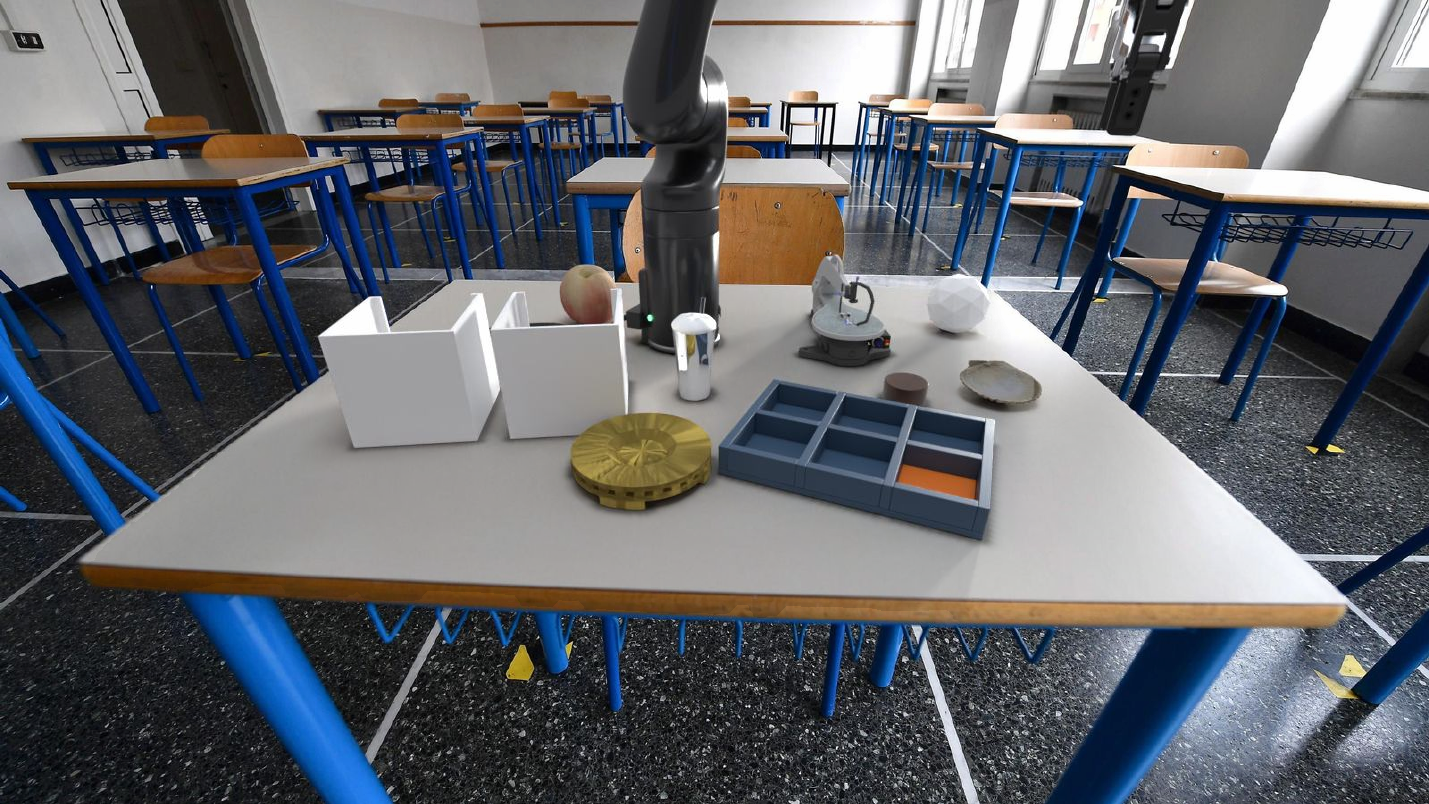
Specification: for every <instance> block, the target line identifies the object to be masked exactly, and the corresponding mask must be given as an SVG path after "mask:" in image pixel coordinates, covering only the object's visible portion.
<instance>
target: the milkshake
mask: <svg viewBox="0 0 1429 804" xmlns="http://www.w3.org/2000/svg"><path fill="white" fill-rule="evenodd" d="M705 300H706V298H705V297H702V298H701V305H700V313H685V314H680V315H679V316H678V317H676V318H675V319H674V320H673V321H672V323H671V327H672V333H673V340H674V348H675V353H674V355H675V365H676V375H677V381H678V382H677V384H678V392H679V395H680V397H681V399H683V400H686V401H689V402H699V401H703V400H706V399H707V398H708V397H709V396H710V394H711V385H712V371H713V361H714V360H713V359H714V348H715V346H714V338H715V329H716V322H715V321H714V319H713V318H712V317H710V316H709V315H707V314H704V308H705Z"/></svg>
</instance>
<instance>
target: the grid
mask: <svg viewBox="0 0 1429 804" xmlns="http://www.w3.org/2000/svg"><path fill="white" fill-rule="evenodd" d="M995 425H996V419H992V418H987V417H980V416H975V415H970V414H966V413H965V414H964V413H958V412H953V411H948V410H942V409H938V408H937V409H936V408H931V407H925V406H924V407H921V406H918V407H917V406H916V405H910V404H905V403H900V402H894V401H889V400H883V399H882V398H877V397H872V396H868V395H867V396H866V395H861V394H856V393H850V392H846V391H840V390H839V391H838V390H835V389H829V388H824V387H817V386H813V385H807V384H801V383H795V382H790V381H786V380H785V381H784V380H780V379H773V380H772V381H771V382H770V383H769V385H768V386H767V387H766V388H765V389H764V391H762V393H761V394H760V395H759V396H758V398H756V400H755V401H754V403H753V404H752V405H751V406H750V407H749V409H747V411H746V412H745V414H743V416H742V417H741V418H740V420H739V421H738V422H737V423H736V424H735V425H734V427H732V429H731V430H730V432H729V433H728V434H727V435H726V436H725V438H723V440H722V441H721V442H720V443H719V445H718V449H717V450H718V451H717V453H718V461H717V463H718V466H717V469H718V471H717V473H718V474H719V475H722V476H727V477H732V478H735V479H738V480H742V481H746V482H751V483H755V484H759V485H763V486H767V487H769V488H770V487H771V488H775V489H778V490H783V491H787V492H791V493H795V494H799V495H803V496H806V497H810V498H813V499H818V500H822V501H826V502H830V503H833V504H838V505H842V506H846V507H850V508H854V509H857V510H861V511H866V512H870V513H873V514H878V515H881V516H884V517H885V516H886V517H890V518H893V519H898V520H900V521H901V520H902V521H906V522H909V523H913V524H917V525H920V526H921V525H922V526H925V527H928V528H933V529H936V530H941V531H945V532H949V533H953V534H957V535H961V536H965V537H969V538H973V539H977V540H980V541H982V540H983V538H984V535H985V534H984V533H985V530H986V526H987V523H988V518H989V515H990V511H991V499H992V498H991V497H992V480H993V479H992V478H993V461H994V444H995V442H994V441H995Z"/></svg>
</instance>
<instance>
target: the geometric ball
mask: <svg viewBox="0 0 1429 804" xmlns="http://www.w3.org/2000/svg"><path fill="white" fill-rule="evenodd" d="M990 304H991V302H990V297H989V293H988V290H987V287H986V286H984V284H982V283H981V282H979V280H978V279H976V278H975V277H972V276H968V275H965V274H961V273H956V274H953V275H949V276H945V277H943V278H942V279H941V280H939V281H938V282H937V283H936V284H935V285H934V286H933V287H932V288H931V289H930V291H929V296H928V298H927V303H926V308H927V312H928V316H929V320H930V321H931V322H932V323H933V324H935V325H936V326H937V327H938V328H939V329H940V330H942V331H946V332H950V333H953V334H956V335H957V334H960V333H964V332H966V331H971V330H973V329H974V328H975V327H976V326H978V325H979V324H980V323H981V322H982V321H984V320H985V319H986V316H987V313H988V310H989V308H990V307H989V306H990Z"/></svg>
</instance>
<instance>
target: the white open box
mask: <svg viewBox="0 0 1429 804" xmlns="http://www.w3.org/2000/svg"><path fill="white" fill-rule="evenodd" d="M470 300H471V302H470V304H469V305H468V306H467V308H466V309H465V310H464V311H463V313H462V314H461V315H460V317H459V318H458V319H457V321H456V322H455V323H454V324H453V326H452V327H451V328H450V329H440V330H413V331H412V330H411V331H391V328H390V324H389V321H388V317H387V313H386V309H385V306H384V302H383V298H382V296H368V297H367V298H366V299H365V300H363V301H362V302H361V303H359V304H357V306H355V307H354V308H353V309H351V310H350V311H349V312H348V313H346V314H345V315H344V316H342V317H341V318H339V319H338V320H337V321H336V322H335V323H333V324H332V325H330V326H329V327H328V328H327V329H326V330H324V331H323V332H321V333H320V334H319V335H317V338H318V341H319V344H320V348H321V350H322V354H323V356H324V360H325V363H326V366H327V369H328V372H329V376H330V379H331V382H332V385H333V388H334V391H335V394H336V397H337V399H338V402H339V406H340V409H341V412H342V416H343V418H344V421H345V424H346V427H347V430H348V434H349V436H350V439H351V443H352V446H353V448H354V449H358V448H359V449H360V448H375V447H376V448H377V447H378V448H379V447H395V446H396V447H397V446H412V445H413V446H415V445H429V444H446V443H448V444H449V443H465V442H466V443H467V442H477V441H478V440H479V438H480V436H481V433H482V432H483V429H484V426H485V425H486V423H487V420H488V419H489V418H488V417H489V415H490V413H491V412H492V409H493V407H494V405H495V403H496V401H497V398H498V395H499V394H500V391H501V395H502V396H501V397H502V401H503V408H504V412H505V417H506V423H507V428H508V434H509V439H510V440H517V439H535V438H536V439H537V438H552V437H570V436H579V435H580V434H581V433H583V432H584V431H585V430H587V429H588V428H589V427H591V426H593V425H595V424H597V423H599V422H601V421H604V420H607V419H610V418H613V417H617V416H621V415H627V414H629V411H628V410H629V408H628V407H629V373H628V372H629V371H628V359H627V345H626V331H625V321H624V317H623V315H624V304H623V292H622V288H617V289H611V303H612V315H613V317H612V322H613V324H611V323H604V324H591V325H580V324H569V325H568V324H564V325H565V326H539V327H530V325H529V323H530V318H529V311H528V305H527V299H526V292H525V291H513V292H512V293H511V295H510V297H509V298H508V300H507V302H506V303H505V305H504V306H503V307H502V310H501V312H500V313H499V315H498V317H497V318H496V319H495V321H494V323H493V324H492V326H491V327H492V328H491V327H490V326H489V319H488V315H487V309H486V305H485V298H484V293H483V292H473V293H470ZM489 328H491V330H489ZM490 331H491V333H490Z"/></svg>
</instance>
